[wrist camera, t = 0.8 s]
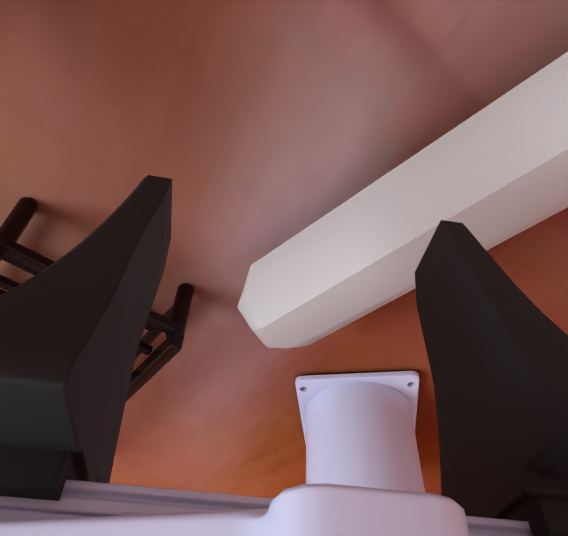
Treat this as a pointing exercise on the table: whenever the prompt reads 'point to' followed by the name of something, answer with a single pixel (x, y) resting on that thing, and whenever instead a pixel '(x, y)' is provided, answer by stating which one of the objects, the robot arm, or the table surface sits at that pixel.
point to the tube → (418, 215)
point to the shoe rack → (172, 322)
